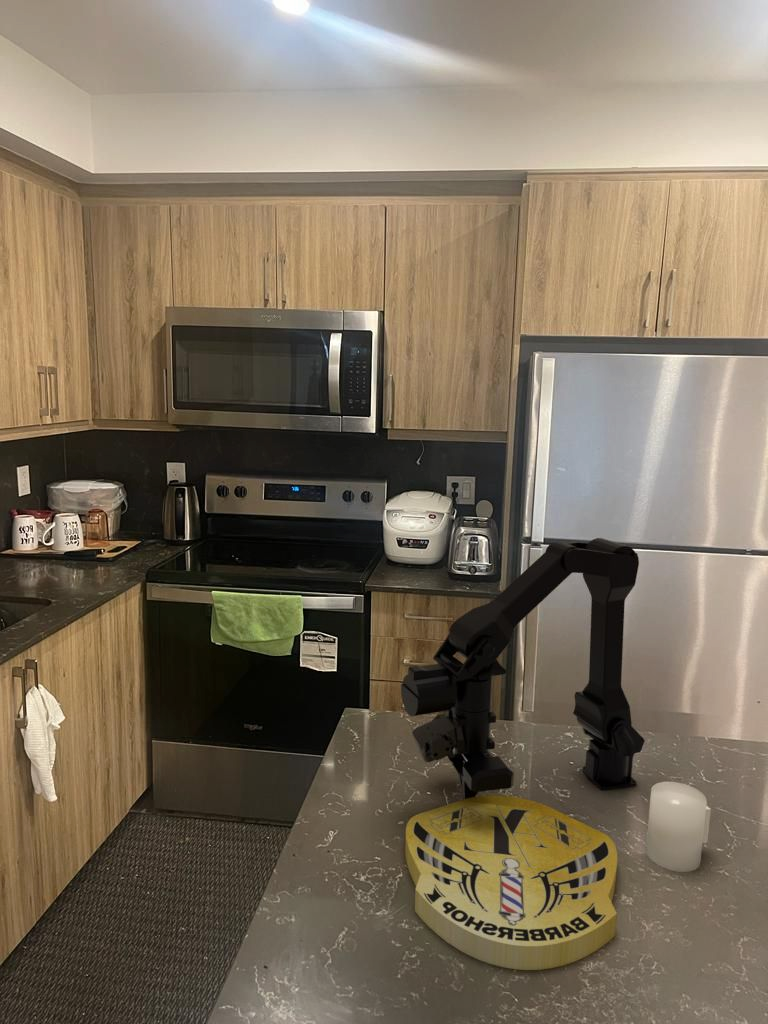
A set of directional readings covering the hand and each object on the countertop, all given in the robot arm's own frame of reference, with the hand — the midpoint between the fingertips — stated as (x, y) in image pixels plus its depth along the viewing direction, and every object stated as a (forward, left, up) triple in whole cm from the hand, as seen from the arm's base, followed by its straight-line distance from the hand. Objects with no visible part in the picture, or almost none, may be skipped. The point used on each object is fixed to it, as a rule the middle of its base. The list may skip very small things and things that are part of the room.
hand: (467, 801), depth 112 cm
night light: (-24, +16, -2) cm, 29 cm away
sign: (0, +16, -2) cm, 16 cm away
